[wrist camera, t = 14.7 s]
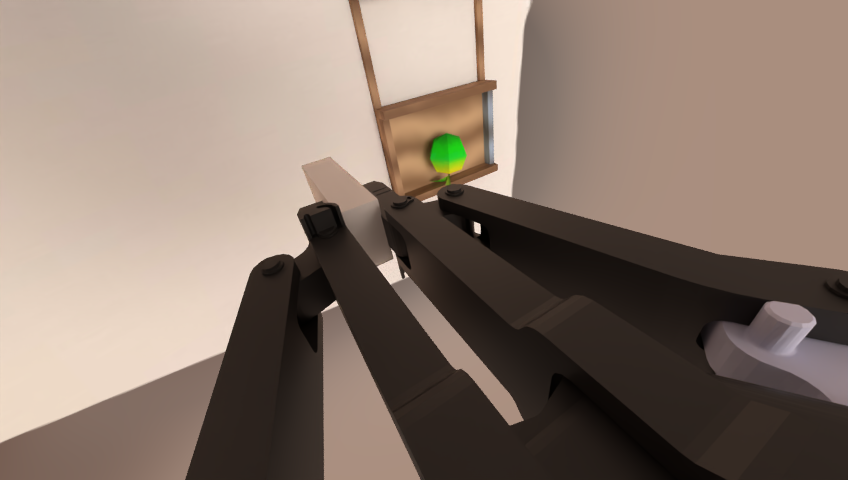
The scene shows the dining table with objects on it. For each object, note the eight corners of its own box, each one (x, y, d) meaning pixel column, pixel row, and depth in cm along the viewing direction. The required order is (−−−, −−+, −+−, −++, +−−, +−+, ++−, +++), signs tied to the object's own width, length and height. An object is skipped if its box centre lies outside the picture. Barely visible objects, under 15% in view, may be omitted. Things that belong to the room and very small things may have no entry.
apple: (462, 138, 44) (464, 195, 49) (471, 127, 49) (472, 179, 54) (416, 139, 46) (423, 193, 51) (429, 128, 51) (434, 178, 56)
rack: (345, -15, 36) (354, -21, 34) (478, -30, 43) (494, -36, 40) (395, 201, 53) (403, 208, 50) (485, 165, 60) (497, 170, 57)
